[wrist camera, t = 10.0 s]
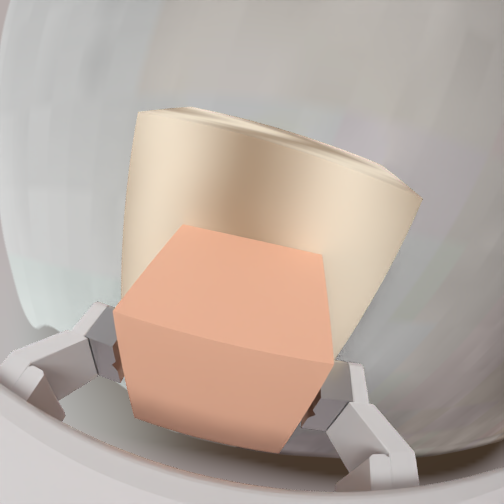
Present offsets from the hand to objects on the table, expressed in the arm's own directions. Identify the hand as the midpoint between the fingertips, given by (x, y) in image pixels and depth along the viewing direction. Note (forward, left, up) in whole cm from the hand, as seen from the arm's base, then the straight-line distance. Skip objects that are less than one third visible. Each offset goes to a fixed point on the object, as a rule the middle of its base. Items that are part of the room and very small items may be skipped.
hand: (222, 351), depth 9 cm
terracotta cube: (0, 0, -3) cm, 3 cm away
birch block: (0, 0, -9) cm, 9 cm away
